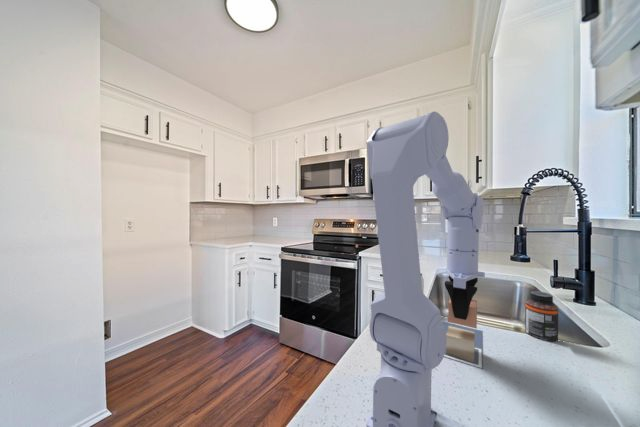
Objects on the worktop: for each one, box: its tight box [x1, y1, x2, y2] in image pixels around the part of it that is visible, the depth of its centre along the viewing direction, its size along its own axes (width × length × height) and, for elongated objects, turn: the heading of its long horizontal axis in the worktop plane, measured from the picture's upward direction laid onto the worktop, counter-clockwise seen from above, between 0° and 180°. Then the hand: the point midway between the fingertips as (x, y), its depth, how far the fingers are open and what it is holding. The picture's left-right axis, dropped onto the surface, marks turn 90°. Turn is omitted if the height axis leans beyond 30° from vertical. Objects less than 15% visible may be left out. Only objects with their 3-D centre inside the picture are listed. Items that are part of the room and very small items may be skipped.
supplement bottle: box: [524, 290, 559, 343], centre depth 59 cm, size 6×6×11 cm
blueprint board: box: [442, 321, 484, 370], centre depth 57 cm, size 18×14×1 cm
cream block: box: [446, 326, 475, 362], centre depth 51 cm, size 5×5×4 cm
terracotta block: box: [447, 298, 478, 330], centre depth 51 cm, size 5×5×4 cm
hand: (461, 313), depth 51 cm, fingers closed on terracotta block, 5 cm apart
